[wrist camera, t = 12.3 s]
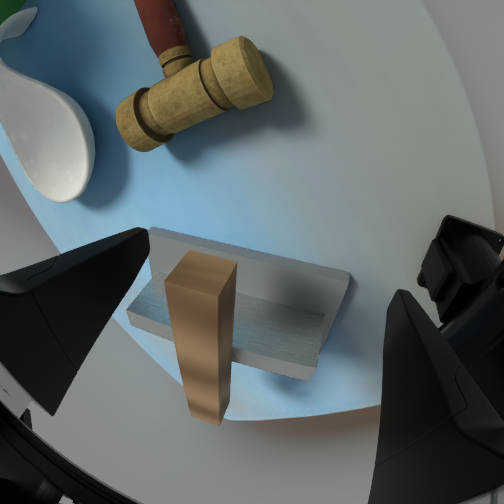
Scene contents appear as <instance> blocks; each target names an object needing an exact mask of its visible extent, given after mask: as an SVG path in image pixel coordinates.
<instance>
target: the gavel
mask: <svg viewBox="0 0 504 504" xmlns="http://www.w3.org/2000/svg"><path fill="white" fill-rule="evenodd" d="M134 2H135V5H136V8H137V11H138V13H139V16H140V19H141V22H142V24H143V27H144V30H145V33H146V35H147V38H148V41H149V43H150V46H151V48H152V49H153V51H154V52H155V54H156V56H157V57H158V59H159V61H160V64H161V67H162V68H164V69H163V73H164V76H165V79H163V80H162V81H160V82H158V83H157V84H155V85H153V86H152V87H151V88H146V87H145V88H141V89H139V90H138V91H136V92H135V93H133V94H132V95H130V96H129V97H127V98H126V99H124V100H123V101H122V102H121V103H120V104H119V105H118V107H117V111H116V124H117V127H118V130H119V132H120V134H121V136H122V138H123V139H124V140H125V142H126V143H127V144H128V145H129V146H131V147H132V148H133V149H135V150H137V151H140V152H148V151H151V150H153V149H155V148H157V147H159V146H161V145H163V144H165V143H167V142H169V141H170V140H171V139H172V138H173V136H174V133H178V132H180V131H182V130H184V129H186V128H189V127H191V126H193V125H195V124H197V123H200V122H202V121H204V120H207V119H209V118H211V117H214V116H216V115H218V114H221V113H223V112H226V111H228V110H229V109H230V107H232V106H236V107H237V108H239V109H241V110H244V109H247V108H250V107H252V106H255V105H258V104H261V103H264V102H267V101H270V100H271V99H272V96H273V84H272V80H271V77H270V75H269V72H268V70H267V68H266V65H265V63H264V61H263V58H262V56H261V54H260V53H259V51H258V49H257V48H256V46H255V45H254V44H253V43H252V42H251V41H250V40H249V39H248V38H246V37H244V36H239V37H237V38H234V39H232V40H230V41H228V42H225V43H223V44H221V45H219V46H217V47H214V48H213V49H212V52H211V57H210V58H208V59H206V58H203V59H200V60H198V61H196V62H194V59H193V58H191V57H192V55H191V53H190V50H189V48H188V43H187V38H186V32H185V30H184V27H183V25H182V22H181V20H180V17H179V15H178V12H177V10H176V8H175V5H174V3H173V0H134Z"/></svg>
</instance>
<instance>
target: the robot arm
mask: <svg viewBox="0 0 504 504" xmlns="http://www.w3.org/2000/svg"><path fill="white" fill-rule="evenodd" d="M448 221H451V223H450V224H447V222H448ZM500 239H501V241H500V242H499V240H500ZM503 246H504V236H503V235H502V234H500V233H498V232H495V231H493V230H490V229H488V228H485V227H482V226H480V225H477V224H474V223H471V222H469V221H466V220H463V219H460V218H457V217H454V216H451V215H447V216H445V217H444V219H443V221H442V223H441V226H440V228H439V231H438V233H437V236H436V238H435V239H434V240H432V242H431V245H430V247H429V249H428V252H427V254H426V256H425V258H424V260H423V263H422V265H421V267H422V269H421V271H420V273H419V275H418V277H417V282H418V285H419V286H421V287H425V288H428V291H429V295H430V298H431V300H432V301H434V302H435V303H436V307H437V311H438V315H439V319H440V322H442V323H444V324H443V325H442V326H441V327H440V328H437V327H436V326H435V324H434V323H433V322H432V320H431V319H430V318H429V316H428V315H427V314H426V312H425V311H424V310H423V308H422V307H421V306H420V304H419V303H418V302H417V301H416V299H415V298H414V297H413V295H412V294H411V293H410V292H409V291H407V290H402V289H398V290H397V291H396V293H395V295H394V297H393V299H392V300H391V302H390V304H389V306H388V309H387V316H386V328H385V338H384V347H383V377H382V399H381V414H380V426H379V436H378V445H377V453H376V460H375V468H374V473H373V479H372V485H371V490H370V496H369V500H368V504H504V259H503V260H502V261H501V259H500V258H499V254H500V252H501V250H502V248H503ZM149 253H150V241H149V233H148V230H147V229H144V228H140V227H136V228H133V229H130V230H127V231H124V232H121V233H118V234H115V235H112V236H109V237H107V238H104V239H101V240H98V241H95V242H92V243H90V244H87V245H84V246H81V247H79V248H76V249H73V250H71V251H68V252H65V253H63V254H60V255H59V256H55V257H52V258H50V259H47V260H44V261H42V262H39V263H36V264H33V265H30V266H28V267H25V268H21V269H18V270H16V271H13V272H10V273H7V274H3V275H0V504H60V503H59V501H60V500H61V497H62V496H65V497H67V498H69V499H71V500H73V503H74V504H143V503H141V502H139V501H137V500H135V499H133V498H131V497H129V496H127V495H125V494H123V493H121V492H120V491H118V490H116V489H114V488H112V487H111V486H109V485H107V484H105V483H104V482H102V481H101V480H99V479H97V478H96V477H94V476H93V475H91V474H89V473H88V472H86V471H85V470H83V469H82V468H80V467H79V466H77V465H76V464H74V463H73V462H71V461H70V460H69V459H68V458H66V457H65V456H63V455H62V454H61V453H60V452H58V451H57V450H55V449H54V448H53V447H52V446H50V445H49V444H48V443H47V442H45V441H44V440H43V439H42V438H41V437H40V436H38V435H37V434H36V433H35V432H34V431H33V430H32V423H31V414H30V410H29V409H28V408H27V407H28V405H29V404H30V402H31V401H34V402H35V403H36V404H37V405H38V406H40V407H41V408H42V409H43V410H44V411H46V412H47V413H48V414H50V415H51V416H54V415H55V413H56V411H57V409H58V407H59V405H60V403H61V401H62V400H63V398H64V396H65V394H66V392H67V390H68V388H69V387H70V385H71V383H72V381H73V379H74V378H75V376H76V374H77V371H78V370H79V369H80V366H81V365H82V363H83V362H84V360H85V358H86V356H87V355H88V353H89V351H90V350H91V348H92V346H93V345H94V343H95V341H96V339H97V338H98V337H99V335H100V333H101V332H102V330H103V329H104V327H105V325H106V324H107V322H108V321H109V319H110V317H111V316H112V314H113V313H114V311H115V310H116V308H117V307H118V305H119V304H120V302H121V301H122V299H123V298H124V296H125V295H126V293H127V292H128V290H129V289H130V287H131V285H132V284H133V282H134V280H135V279H136V277H137V275H138V273H139V271H140V269H141V268H142V266H143V264H144V262H145V260H146V259H147V257H148V255H149ZM423 279H425V280H424V281H421V280H423Z"/></svg>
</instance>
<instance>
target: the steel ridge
mask: <svg viewBox="0 0 504 504" xmlns="http://www.w3.org/2000/svg"><path fill="white" fill-rule="evenodd" d="M169 274H170V273H167V272H163V271H160V270H159V271H158V272H157V273H156V274H155V275H154V276H153V278H152V279H151V280H150V281H149V282H148V284H147V285H146V286H145V287H144V288H143V290H142V291H141V292H140V293H139V295H138V296H137V297H136V298H135V299H134V301H133V302H132V303H131V304H130V306H129V307H128V308H127V309H126V311H127V314H128V318H129V321H130V324H131V325H132V326H134V327H137V328H139V329H142V330H144V331H147V332H149V333H152V334H154V335H157V336H160V337H162V338H165V339H168V340H170V341H173V342H174V338H173V333H172V327H171V322H170V316H169V310H168V304H167V298H166V291H165V285H164V280H165V279H166V278H167V276H168V275H169ZM324 317H325V314H322V313H318V312H314V311H310V310H305V309H301V308H297V307H293V306H289V305H285V304H281V303H277V302H273V301H269V300H265V299H261V298H257V297H253V296H249V295H245V294H242V293H238V292H236V294H235V310H234V327H233V345H232V361H233V362H237V363H240V364H244V365H247V366H251V367H254V368H258V369H261V370H265V371H269V372H273V373H277V374H281V375H285V376H289V377H293V378H297V379H302V380H306V381H310V380H311V378H312V376H313V374H314V372H315V370H316V367H317V362H318V356H319V350H320V344H321V337H322V331H323V324H324Z"/></svg>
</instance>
